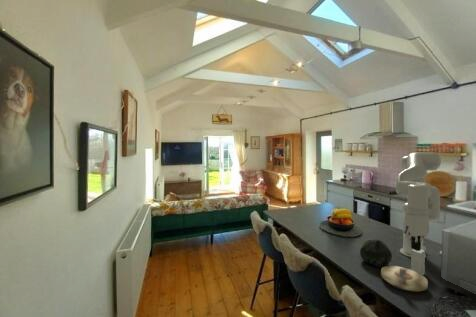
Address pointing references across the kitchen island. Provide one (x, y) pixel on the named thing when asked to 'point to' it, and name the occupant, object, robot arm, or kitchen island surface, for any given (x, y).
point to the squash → (376, 253)
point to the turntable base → (403, 289)
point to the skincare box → (418, 261)
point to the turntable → (404, 278)
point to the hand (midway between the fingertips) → (415, 249)
